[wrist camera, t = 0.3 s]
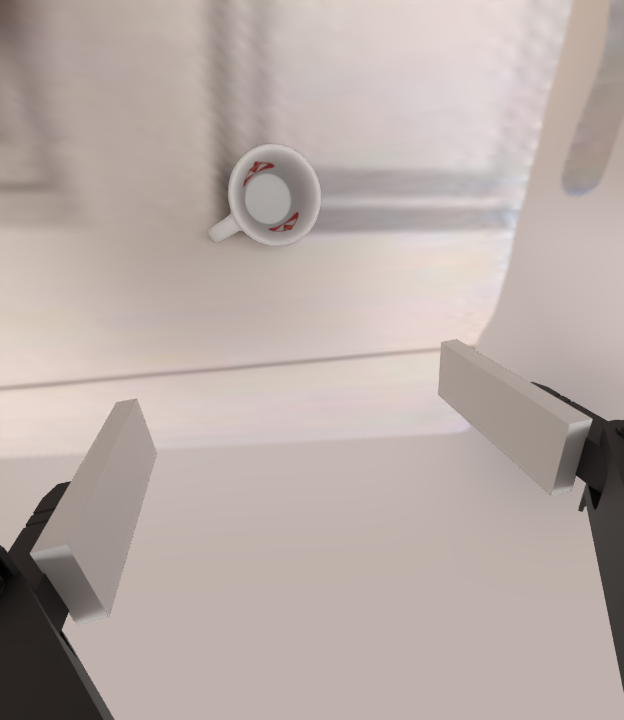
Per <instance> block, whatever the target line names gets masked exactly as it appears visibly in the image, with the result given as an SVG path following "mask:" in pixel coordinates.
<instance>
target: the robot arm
mask: <svg viewBox="0 0 624 720" xmlns="http://www.w3.org/2000/svg"><path fill="white" fill-rule="evenodd" d="M438 395H439V396H440V397H441V398H442V399H444V400H445V401H446V402H447V403H448V404H449V405H450V406H451V407H452V408H454V409H455V410H456V411H457V412H458V413H459V414H460V415H461V416H462V417H463V418H465V419H466V420H467V421H468V422H469V423H470V424H471V425H472V426H474V427H475V428H476V429H477V430H478V431H479V432H480V433H481V434H482V435H483V436H485V437H486V438H487V439H488V440H489V441H490V442H491V443H492V444H494V445H495V446H496V447H497V448H498V449H499V450H500V451H501V452H502V453H503V454H504V455H506V456H507V457H508V458H509V459H510V460H511V461H512V462H513V463H514V464H516V465H517V466H518V467H519V468H520V469H521V470H522V471H523V472H524V473H526V474H527V475H528V476H529V477H530V478H531V479H532V480H533V481H534V482H536V483H537V484H538V485H539V486H540V487H541V488H542V489H543V490H544V491H546V492H547V493H548V494H549V495H550V496H554V495H557V494H561V493H564V492H568V491H571V490H572V488H573V484H574V481H575V478H576V476H578V477H579V478H580V479H582V480H583V481H584V482H585V483H586V486H585V489H584V492H583V495H582V498H581V502H580V505H579V511H581V512H582V511H583V510H584V507H585V506H587V511H588V516H589V521H590V526H591V531H592V536H593V541H594V545H595V551H596V556H597V561H598V566H599V571H600V576H601V581H602V585H603V590H604V595H605V600H606V606H607V611H608V616H609V620H610V625H611V630H612V636H613V641H614V645H615V651H616V656H617V661H618V665H619V670H620V676H621V680H622V686H623V690H624V420H612V421H607V420H605V419H603V418H601V417H600V416H598V415H596V414H594V413H592V412H591V411H589V410H587V409H585V408H583V407H582V406H580V405H578V404H576V403H575V402H571V401H570V399H568V398H566V397H564V396H561V395H560V394H559V393H557V392H556V391H554V390H552V389H550V388H549V387H546V386H543V385H540V384H537V383H534V382H529V381H527V380H525V379H524V378H522V377H520V376H518V375H517V374H515V373H513V372H512V371H510V370H508V369H507V368H505V367H503V366H501V365H500V364H498V363H496V362H494V361H493V360H491V359H490V358H488V357H486V356H484V355H483V354H481V353H479V352H478V351H476V350H474V349H472V348H471V347H469V346H467V345H466V344H464V343H462V342H461V341H459V340H457V339H456V340H450V341H445V342H441V356H440V372H439V388H438ZM156 455H157V452H156V450H155V447H154V444H153V441H152V439H151V436H150V433H149V430H148V428H147V425H146V422H145V419H144V417H143V414H142V411H141V408H140V405H139V403H138V400H137V399H132V400H127V401H121V402H116V404H115V406H114V408H113V409H112V411H111V413H110V415H109V416H108V418H107V420H106V422H105V423H104V425H103V427H102V429H101V430H100V432H99V434H98V435H97V437H96V439H95V441H94V442H93V444H92V446H91V448H90V449H89V451H88V453H87V455H86V456H85V458H84V460H83V462H82V463H81V465H80V467H79V469H78V470H77V472H76V474H75V476H74V477H73V479H72V481H70V482H65V483H61V484H57V485H56V486H55V487H54V488H53V489H52V490H51V491H50V492H49V493H48V494H47V495H46V496H45V497H43V498H42V500H41V501H40V503H39V505H38V506H37V508H36V509H35V511H34V512H33V513H34V515H32V516H31V517H30V519H29V520H28V522H27V523H26V528H23V530H22V531H21V533H20V534H19V536H18V538H17V539H16V541H15V542H14V544H13V545H12V547H11V549H10V550H9V552H8V553H7V551H6V550H5V549H4V548H3V547H2V546H1V545H0V720H114V718H113V716H112V715H111V713H110V711H109V709H108V708H107V706H106V704H105V703H104V701H103V699H102V697H101V696H100V694H99V692H98V691H97V689H96V687H95V685H94V684H93V682H92V681H91V679H90V677H89V675H88V673H87V672H86V670H85V668H84V667H83V665H82V663H81V661H80V660H79V658H78V656H77V655H76V653H75V651H74V649H73V648H72V646H71V644H70V643H69V641H68V639H67V637H66V636H65V634H64V633H63V632H62V628H63V625H64V622H65V620H66V617H67V615H68V612H69V613H70V615H71V617H72V618H73V620H74V622H75V623H76V625H77V626H79V625H82V624H86V623H90V622H93V621H97V620H101V619H104V618H108V617H109V616H110V613H111V610H112V606H113V603H114V599H115V596H116V592H117V589H118V586H119V582H120V579H121V575H122V572H123V568H124V565H125V562H126V558H127V555H128V551H129V548H130V544H131V541H132V538H133V534H134V530H135V527H136V524H137V520H138V517H139V513H140V510H141V506H142V503H143V500H144V496H145V493H146V490H147V486H148V483H149V479H150V475H151V472H152V469H153V466H154V462H155V459H156Z"/></svg>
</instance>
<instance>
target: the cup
mask: <svg viewBox="0 0 624 720" xmlns="http://www.w3.org/2000/svg"><path fill="white" fill-rule="evenodd" d="M228 200H229V205H230V209H231V214H230V215H229V216H227V217H226V218H225V219H223V220H221V221H220V222H218V223H217V224H215V225H214V226H212V227H210V228H209V229H208V234H209V236H210V238H211V239H212V241H214V242H215V243H218V242H221V241H223V240H224V239H226V238H228V237H230V236H231V235H233V234H235V233H237V232H238V231H243V232H244V233H245V234H246V235H248V236H249V237H250V238H251V239H253V240H255V241H256V242H258V243H261V244H264V245H267V246H274V247H279V246H286V245H290V244H293V243H295V242H297V241H299V240H300V239H302V238H303V237H304V236H305V235H306V234H307V233H308V232H309V231H310V230H311V229H312V227H313V226H314V224H315V222H316V220H317V218H318V215H319V212H320V207H321V188H320V184H319V180H318V177H317V175H316V172H315V171H314V169H313V167H312V166H311V164H310V163H309V162H308V160H307V159H306V158H305V157H304V156H303V155H301V154H300V153H299V152H297V151H296V150H294V149H292V148H290V147H288V146H285V145H281V144H264V145H260V146H257V147H255V148H253V149H251V150H250V151H248V152H247V153H245V154H244V155H243V156H242V157H241V158H240V160H239V161H238V162H237V164H236V165H235V167H234V169H233V171H232V173H231V176H230V180H229V186H228Z"/></svg>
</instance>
